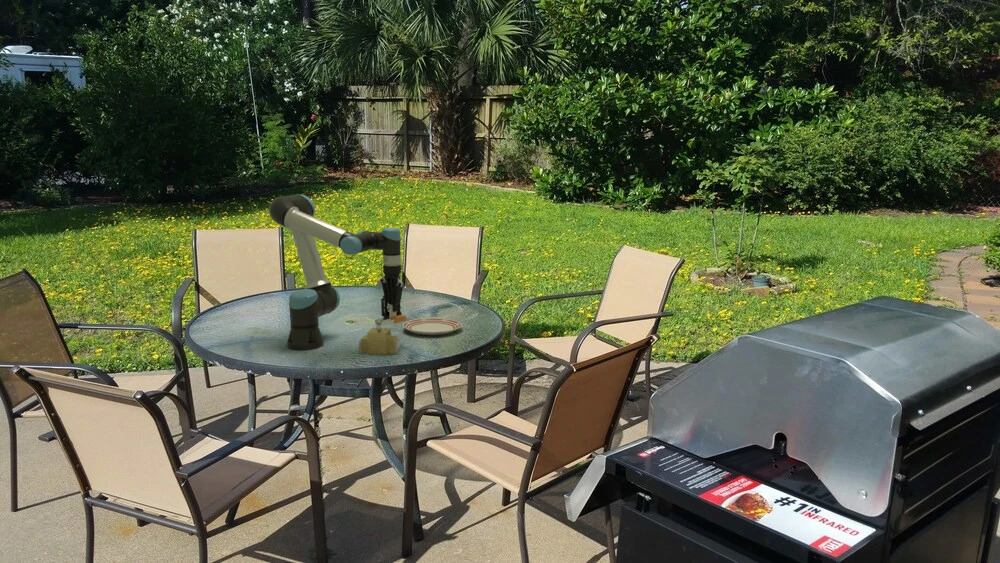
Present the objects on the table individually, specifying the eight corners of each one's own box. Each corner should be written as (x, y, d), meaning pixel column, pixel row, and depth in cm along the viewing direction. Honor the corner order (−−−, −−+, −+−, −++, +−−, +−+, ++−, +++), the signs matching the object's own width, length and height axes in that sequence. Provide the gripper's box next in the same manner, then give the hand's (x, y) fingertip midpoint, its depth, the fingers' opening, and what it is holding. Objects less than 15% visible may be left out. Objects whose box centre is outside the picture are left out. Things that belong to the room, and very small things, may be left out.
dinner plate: (432, 320, 362) (431, 313, 361) (473, 329, 345) (473, 323, 344) (390, 331, 341) (390, 324, 340) (432, 342, 324) (432, 335, 323)
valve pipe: (358, 353, 306) (357, 332, 304) (363, 348, 314) (362, 327, 312) (396, 354, 304) (395, 333, 303) (400, 349, 312) (400, 328, 311)
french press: (394, 316, 369) (393, 271, 364) (407, 319, 363) (406, 273, 358) (376, 320, 360) (375, 274, 355) (389, 323, 354) (388, 276, 350)
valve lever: (373, 330, 307) (373, 320, 306) (401, 323, 319) (401, 313, 318) (378, 331, 305) (378, 321, 304) (406, 324, 317) (406, 314, 316)
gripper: (375, 263, 312) (376, 317, 317) (395, 267, 304) (396, 323, 309) (388, 261, 318) (389, 314, 323) (408, 265, 310) (409, 319, 314)
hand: (393, 318), depth 316 cm, fingers closed
